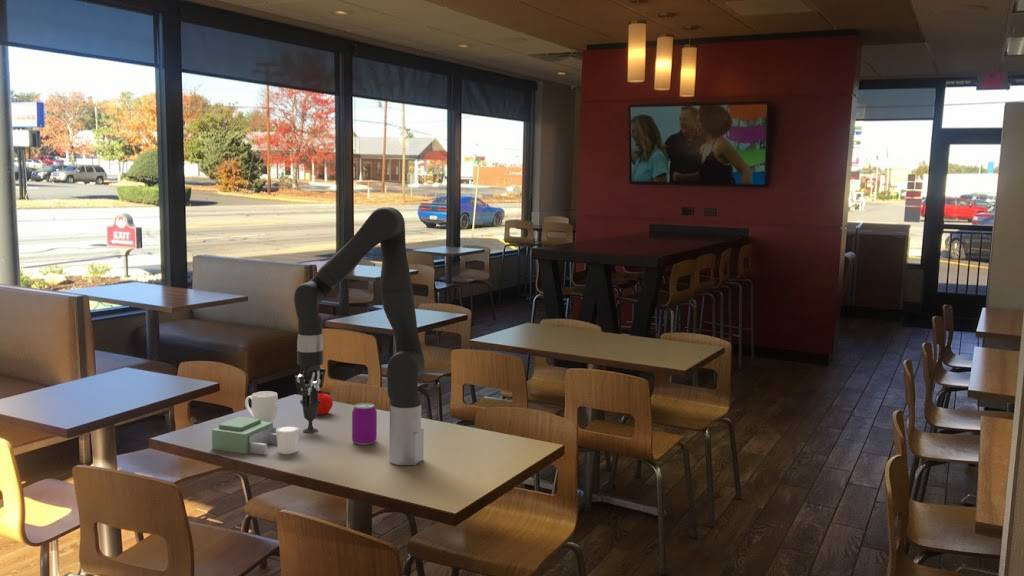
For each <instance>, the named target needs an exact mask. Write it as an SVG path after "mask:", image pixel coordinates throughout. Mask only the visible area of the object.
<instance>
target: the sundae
mask: <svg viewBox="0 0 1024 576" xmlns="http://www.w3.org/2000/svg"><path fill="white" fill-rule="evenodd" d="M320 402H321V401H320V400H318V403H317V404H311V400H310V407H303V404H302V399H300V400H299V403H300V404H301V406H302V411H303V417H304V419H305V420H307V421H308V426H307V428H305V429H303V430H302V432H303V433H304V434H305V433H306V434H314V432H315V433H318V431H319V429H318V428H314V426H313V421H314V420H315V419H316V418H317V416H318V414H317V411H318V404H319V403H320Z"/></svg>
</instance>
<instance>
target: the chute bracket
mask: <svg viewBox="0 0 1024 576" xmlns="http://www.w3.org/2000/svg"><path fill="white" fill-rule="evenodd" d="M269 444H273V445H277V436H276V432H273V433H272V427H268V428H266V429H264V430H261V431H259V432H257V433H255V434H252V435H250V436H248V453H250V454H257V455H263V456H264V455H267V454H268V445H269Z"/></svg>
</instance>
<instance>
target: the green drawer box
mask: <svg viewBox="0 0 1024 576" xmlns="http://www.w3.org/2000/svg"><path fill="white" fill-rule="evenodd" d="M273 424H274V422H265V421H261V419H254V418H253V417H244V416H237V417H235V418H232V419H229V420H227V421H225V422H221V423H220V424H218V427H215V428H213V429H211V449H212V450H216V451H217V450H218V451H223V452H224V451H225V452H231V453H232V452H233V453H236V454H237V453H240V454H248V453H249V452H248V436H250V435H252V434H255V433H257V432H259V431H261V430H264V429H266V428H268V427H272V433H274V429H273V428H274V425H273Z"/></svg>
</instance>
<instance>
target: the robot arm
mask: <svg viewBox="0 0 1024 576" xmlns="http://www.w3.org/2000/svg"><path fill="white" fill-rule="evenodd" d="M406 243H407V242H406V222H405V218H404V216H403V214H402V213H401V212H400V210H398V209H396V208H394V207H388V206H385V207H383V206H382V207H378V208H376V209H374V210H373V211H372V212H371V213H370V214H369V216H368V217H367V219H366V220H365V221H364V223H363V224H362V226H361V227H360V228H359V230H358V231H356V233H355V234H354V235H353V236H352V237H351V238H350V240H349V241H347V243H346V244H345V245H343V246H342V247H341V248H340V249H339V250H338V251H337V252H336V253H335V254H334V255H333V256H331V257H330V258H329V259H328V260H327V261H326V262H325V263H324V264H323V265H322V266H321V267H320V268H319V269H318V271H317V274H316V275H315V276H314V277H313V278H312V279H310V280H309V281H308V282H304V283H301V284H299V286H297V287H296V289H295V290H294V297H293V298H294V299H293V300H294V307H295V313H296V316H297V317H296V318H297V320H298V321H297V339H296V340H297V341H296V344H297V345H296V348H297V349H296V352H297V353H296V358H297V359H296V363H297V365H298V366H300V372H299V374H298V375H295V376H294V379H293V380H294V384H295V387H296V392H297V394H299V395H301V397H302V399H301V400H302V404H303V406H302V408H303V407H310V400H311V404H317V403H318V394H319V392H320V390H321V389H323V387H324V381H325V375H326V372H327V371H326V370H327V369H326V368H322V367H321V365H323V364H324V338H323V318H322V315H320V314H319V311H318V310H319V309H318V305H319V304H320V303H322V302H323V301H324V300H325V299H326V298H327V297H328V296H329V295H330V293H332V291H333V290H334V289H335V287H336V286H338V285H339V284H340V283H342V281H343V280H345V278H346V277H348V276H349V275H350V274H351V273H352V272H353V271H354V270H355V269H356V267H357V266H358V265H359V264H360V262H361V260H362V259H363V258H364V257H365V256H366V255H367V254H368V253H369V252H370V251H371V250H373V249H374V248H375V247H376V246H378V245H380V249H381V256H382V257H381V258H382V259H381V270H380V280H379V281H380V282H379V285H380V295H381V301H382V308H383V311H384V313H385V316H386V318H387V320H388V323H389V325H390V327H391V328H392V331H393V336H394V341H395V354H393V355H392V356H391V357H390V358H389V359H388V363H387V367H386V368H387V369H386V371H387V372H386V373H387V375H386V377H387V380H386V381H387V396H388V399H389V463H391V464H392V465H396V466H417V465H418V464H419V463H421V461H424V441H425V440H424V438H425V437H424V434H425V433H424V432H425V431H424V430H425V429H424V428H422V394H420V393H419V377H420V376H421V375H422V374H423V373H424V372H423V371H425V365H426V364H425V363H426V362H425V356H424V351H423V348H422V346H421V345H422V343H421V340H420V335H419V333H418V324H417V323H418V321H417V314H416V307H415V298H414V297H415V296H414V289H413V285H412V284H413V283H412V279H411V277H412V276H411V272H410V267H409V266H410V265H409V261H408V260H409V259H408V256H407V248H406ZM302 404H301V405H302Z"/></svg>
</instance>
